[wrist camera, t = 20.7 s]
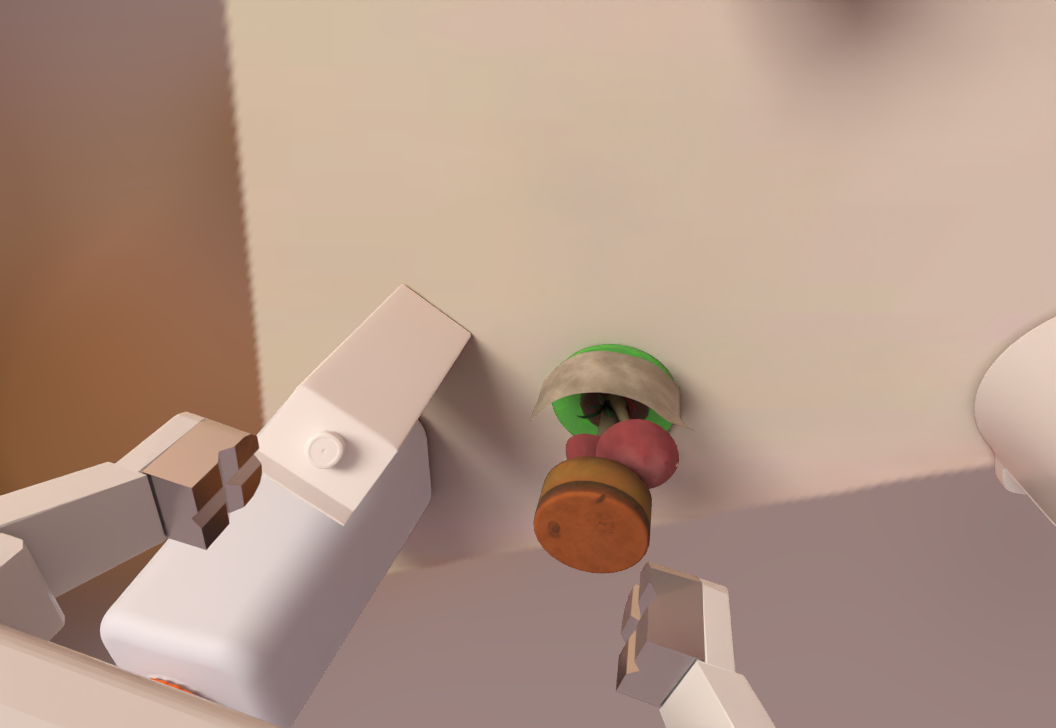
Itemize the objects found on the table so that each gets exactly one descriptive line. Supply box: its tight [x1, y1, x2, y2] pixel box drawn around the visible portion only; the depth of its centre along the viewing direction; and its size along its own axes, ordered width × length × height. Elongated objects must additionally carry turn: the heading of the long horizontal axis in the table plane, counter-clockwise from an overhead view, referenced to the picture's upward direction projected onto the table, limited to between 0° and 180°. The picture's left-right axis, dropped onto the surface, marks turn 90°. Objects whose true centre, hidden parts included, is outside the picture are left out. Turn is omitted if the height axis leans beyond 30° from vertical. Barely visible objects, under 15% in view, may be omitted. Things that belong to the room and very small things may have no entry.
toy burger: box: [529, 344, 693, 573], centre depth 40 cm, size 12×13×15 cm
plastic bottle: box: [100, 398, 431, 728], centre depth 46 cm, size 15×15×28 cm
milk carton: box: [254, 285, 471, 526], centre depth 40 cm, size 7×7×19 cm
